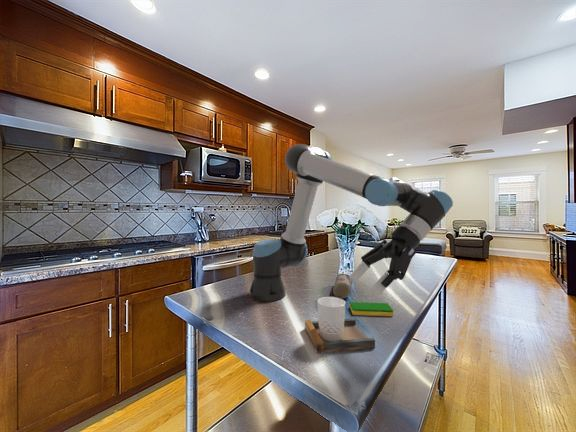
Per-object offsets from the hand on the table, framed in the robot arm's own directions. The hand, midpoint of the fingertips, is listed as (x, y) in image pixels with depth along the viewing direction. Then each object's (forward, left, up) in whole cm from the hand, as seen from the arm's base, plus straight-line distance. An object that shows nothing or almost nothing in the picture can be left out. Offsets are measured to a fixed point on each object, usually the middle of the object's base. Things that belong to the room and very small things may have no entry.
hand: (361, 286), depth 74 cm
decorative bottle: (-10, +41, -15) cm, 45 cm away
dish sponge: (+2, +20, -15) cm, 25 cm away
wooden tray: (-6, -3, -15) cm, 16 cm away
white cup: (-8, -4, -14) cm, 17 cm away
